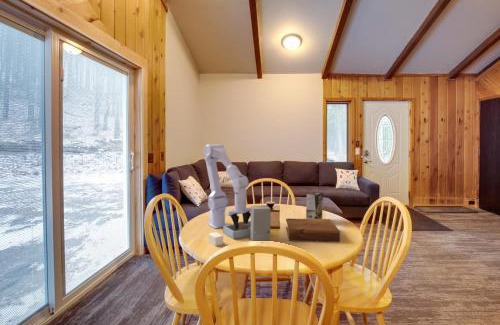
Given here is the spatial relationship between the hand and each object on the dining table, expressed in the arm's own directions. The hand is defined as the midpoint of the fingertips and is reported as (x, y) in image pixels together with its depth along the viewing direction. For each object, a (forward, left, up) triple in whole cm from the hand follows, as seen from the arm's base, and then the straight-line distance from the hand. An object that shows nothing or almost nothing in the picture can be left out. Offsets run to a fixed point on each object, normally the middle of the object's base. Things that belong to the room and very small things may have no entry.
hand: (240, 227), depth 139 cm
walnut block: (0, 0, -2) cm, 2 cm away
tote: (0, +2, -3) cm, 3 cm away
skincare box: (+13, +3, -3) cm, 14 cm away
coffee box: (+5, +46, -3) cm, 46 cm away
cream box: (+5, -16, -3) cm, 17 cm away
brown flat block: (+20, +28, -3) cm, 35 cm away
